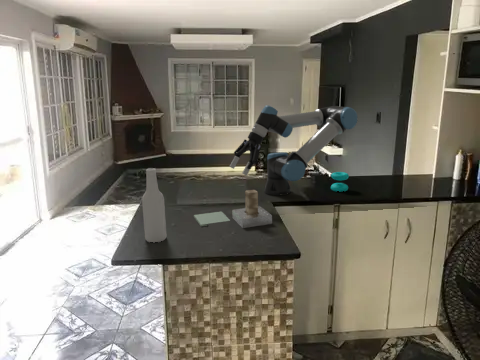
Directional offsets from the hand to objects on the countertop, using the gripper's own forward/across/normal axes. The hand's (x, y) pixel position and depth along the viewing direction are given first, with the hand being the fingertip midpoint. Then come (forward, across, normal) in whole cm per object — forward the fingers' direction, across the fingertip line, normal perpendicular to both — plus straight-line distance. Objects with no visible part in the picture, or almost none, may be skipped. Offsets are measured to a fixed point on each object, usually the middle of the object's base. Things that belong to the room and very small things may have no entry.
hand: (237, 171), depth 206 cm
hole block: (+18, +27, +3) cm, 32 cm away
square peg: (+17, +27, +2) cm, 32 cm away
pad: (+26, +13, -8) cm, 31 cm away
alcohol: (+42, +22, -34) cm, 58 cm away
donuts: (-19, +7, +64) cm, 67 cm away
